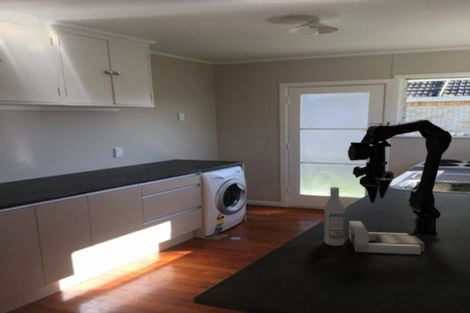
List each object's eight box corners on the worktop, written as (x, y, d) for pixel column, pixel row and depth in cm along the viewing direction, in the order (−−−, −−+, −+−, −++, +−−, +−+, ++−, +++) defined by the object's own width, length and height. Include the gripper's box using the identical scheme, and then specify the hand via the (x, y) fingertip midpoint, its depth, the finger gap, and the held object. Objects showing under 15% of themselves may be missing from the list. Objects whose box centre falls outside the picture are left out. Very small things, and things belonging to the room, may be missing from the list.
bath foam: (348, 244, 122) (349, 188, 120) (333, 247, 119) (333, 190, 117) (335, 238, 128) (335, 185, 127) (320, 241, 125) (320, 187, 124)
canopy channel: (406, 240, 125) (407, 222, 125) (420, 254, 111) (421, 234, 111) (349, 238, 129) (349, 220, 128) (355, 251, 115) (356, 232, 114)
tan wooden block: (414, 244, 122) (414, 235, 122) (424, 252, 114) (424, 243, 114) (376, 243, 124) (376, 235, 124) (383, 251, 116) (383, 242, 116)
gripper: (365, 156, 141) (365, 193, 143) (345, 161, 127) (346, 202, 129) (394, 157, 134) (394, 196, 135) (376, 162, 120) (376, 206, 121)
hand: (377, 200), depth 130 cm, fingers open, 9 cm apart
